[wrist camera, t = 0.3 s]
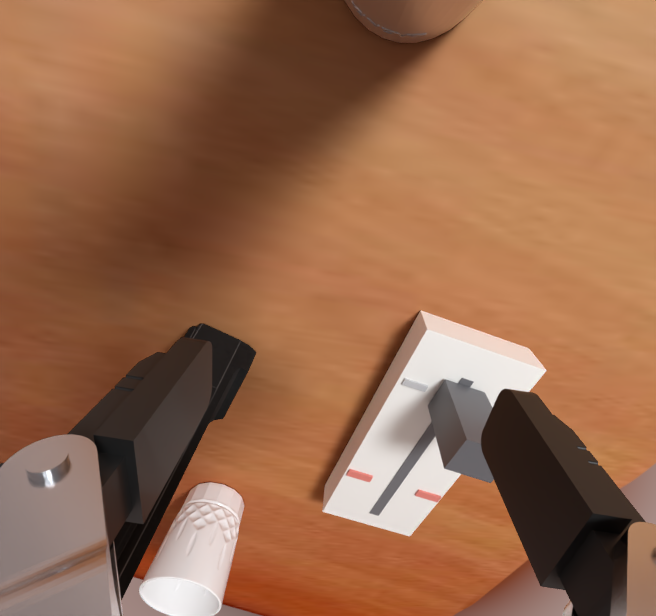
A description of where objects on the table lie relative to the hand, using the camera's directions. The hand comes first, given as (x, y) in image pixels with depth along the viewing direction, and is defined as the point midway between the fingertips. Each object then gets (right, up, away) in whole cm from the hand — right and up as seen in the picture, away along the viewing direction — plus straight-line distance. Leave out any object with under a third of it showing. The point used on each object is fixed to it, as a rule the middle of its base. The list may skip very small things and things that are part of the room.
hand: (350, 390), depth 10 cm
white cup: (-14, -21, +32) cm, 41 cm away
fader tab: (+10, -5, +19) cm, 22 cm away
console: (+8, -9, +25) cm, 27 cm away
